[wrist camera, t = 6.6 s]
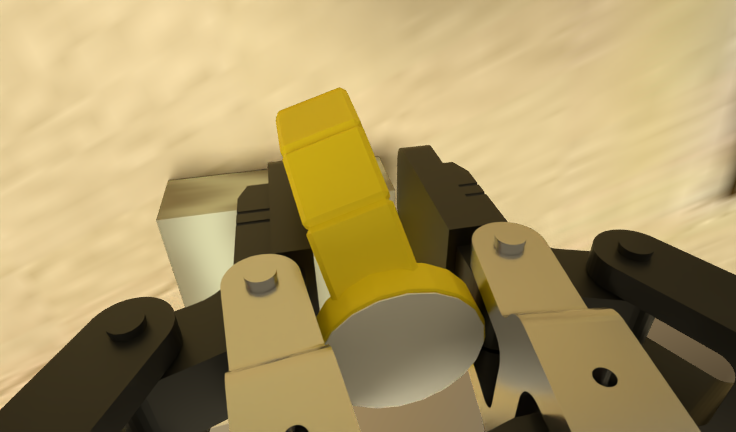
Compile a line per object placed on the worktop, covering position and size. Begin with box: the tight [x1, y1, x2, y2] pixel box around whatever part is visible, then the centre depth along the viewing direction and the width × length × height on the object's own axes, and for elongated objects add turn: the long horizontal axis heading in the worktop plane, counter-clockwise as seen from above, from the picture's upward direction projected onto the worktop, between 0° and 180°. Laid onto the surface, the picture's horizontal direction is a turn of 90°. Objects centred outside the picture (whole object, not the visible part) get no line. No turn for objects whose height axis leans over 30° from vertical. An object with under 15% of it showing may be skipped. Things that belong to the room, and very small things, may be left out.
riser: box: [156, 157, 395, 310], centre depth 29 cm, size 12×12×4 cm
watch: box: [276, 87, 485, 408], centre depth 10 cm, size 6×3×6 cm, turn 18°
